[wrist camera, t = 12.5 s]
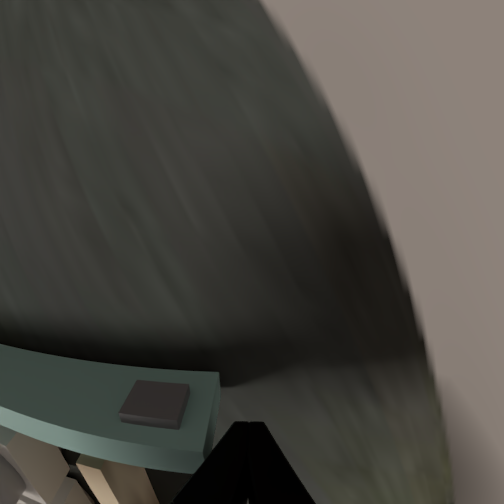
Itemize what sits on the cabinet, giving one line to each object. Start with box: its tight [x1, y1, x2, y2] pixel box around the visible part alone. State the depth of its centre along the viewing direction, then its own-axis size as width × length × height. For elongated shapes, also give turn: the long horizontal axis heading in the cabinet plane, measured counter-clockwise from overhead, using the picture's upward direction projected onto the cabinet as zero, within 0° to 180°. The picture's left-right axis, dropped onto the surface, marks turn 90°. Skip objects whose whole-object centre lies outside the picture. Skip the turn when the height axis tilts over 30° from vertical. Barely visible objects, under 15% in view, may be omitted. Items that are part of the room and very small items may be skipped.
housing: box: [58, 447, 159, 504], centre depth 11 cm, size 12×14×3 cm
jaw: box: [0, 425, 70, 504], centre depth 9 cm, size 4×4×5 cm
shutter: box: [0, 344, 221, 474], centre depth 8 cm, size 1×14×4 cm, turn 91°
